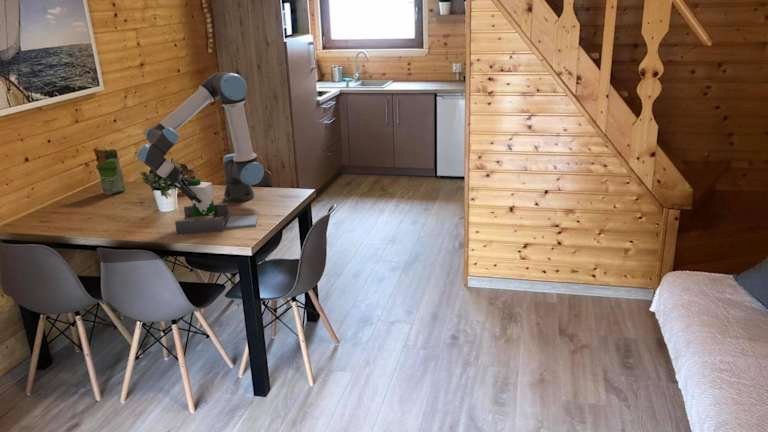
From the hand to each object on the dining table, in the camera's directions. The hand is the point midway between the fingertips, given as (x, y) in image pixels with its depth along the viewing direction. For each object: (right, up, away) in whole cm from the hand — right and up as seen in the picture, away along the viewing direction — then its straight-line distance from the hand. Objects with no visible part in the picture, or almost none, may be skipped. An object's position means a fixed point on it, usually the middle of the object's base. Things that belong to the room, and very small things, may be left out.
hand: (209, 202), depth 290 cm
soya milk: (-2, -9, +3) cm, 10 cm away
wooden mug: (-27, +8, +53) cm, 60 cm away
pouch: (-67, +6, +54) cm, 86 cm away
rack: (-2, -10, -1) cm, 10 cm away
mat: (+15, -9, 0) cm, 18 cm away
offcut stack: (-2, -12, -6) cm, 13 cm away
